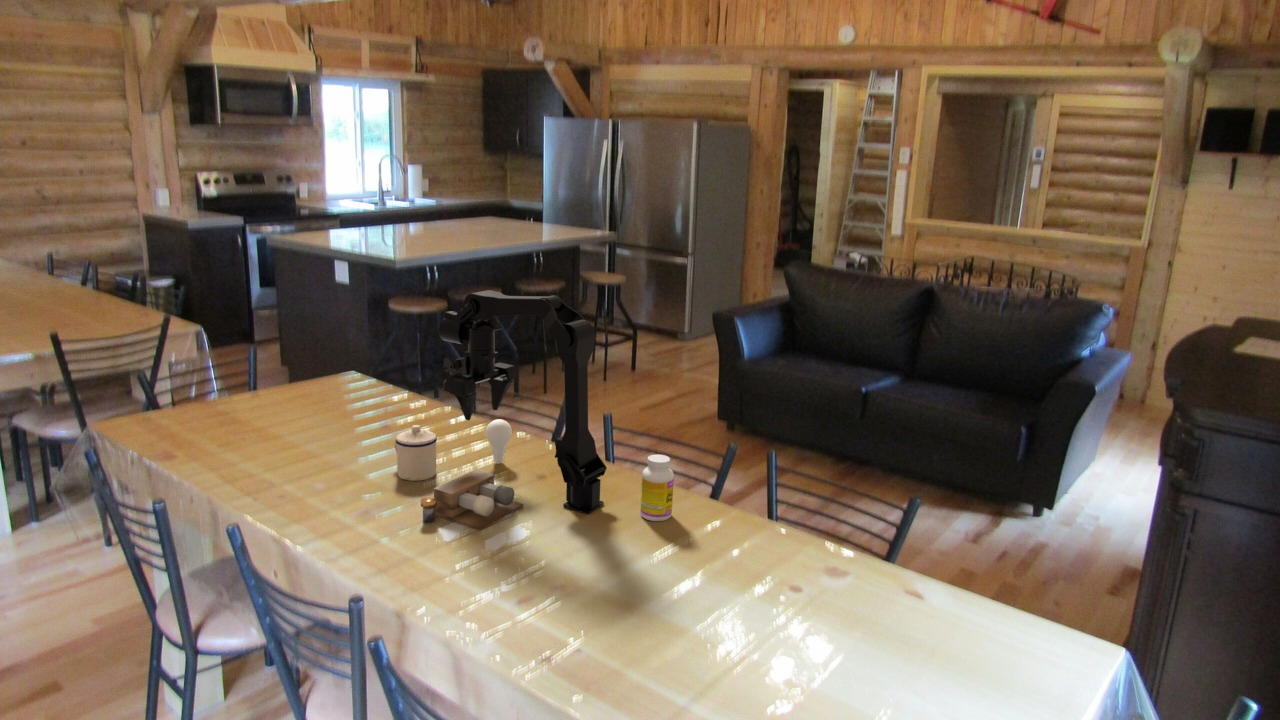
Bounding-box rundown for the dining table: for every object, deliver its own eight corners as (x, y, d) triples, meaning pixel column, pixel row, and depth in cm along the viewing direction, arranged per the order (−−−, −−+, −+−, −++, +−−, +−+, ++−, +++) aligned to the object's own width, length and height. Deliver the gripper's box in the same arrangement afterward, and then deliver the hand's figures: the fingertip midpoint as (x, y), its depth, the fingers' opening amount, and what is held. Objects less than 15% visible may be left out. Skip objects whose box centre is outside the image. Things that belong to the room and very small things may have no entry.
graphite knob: (514, 502, 182) (514, 485, 181) (502, 508, 179) (502, 491, 178) (481, 491, 186) (481, 475, 185) (469, 497, 183) (469, 480, 182)
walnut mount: (523, 506, 183) (523, 482, 182) (479, 530, 172) (478, 504, 170) (476, 492, 190) (476, 468, 188) (430, 513, 178) (430, 488, 177)
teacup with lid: (445, 474, 199) (445, 426, 196) (413, 485, 192) (412, 435, 189) (412, 460, 206) (411, 414, 203) (380, 471, 199) (378, 422, 196)
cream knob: (494, 512, 176) (494, 495, 176) (481, 519, 173) (481, 501, 172) (460, 501, 181) (460, 484, 180) (448, 507, 178) (447, 490, 177)
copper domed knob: (440, 520, 176) (440, 499, 174) (429, 525, 173) (428, 504, 172) (428, 516, 177) (428, 495, 176) (417, 521, 174) (417, 500, 173)
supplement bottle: (668, 524, 178) (672, 465, 175) (637, 520, 180) (639, 462, 176) (674, 511, 185) (677, 454, 181) (643, 507, 186) (646, 451, 183)
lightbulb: (498, 470, 202) (498, 425, 200) (480, 463, 206) (480, 419, 203) (517, 463, 207) (517, 419, 204) (499, 457, 211) (499, 414, 208)
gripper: (481, 335, 203) (481, 398, 207) (424, 349, 188) (425, 418, 192) (519, 342, 198) (518, 407, 202) (463, 358, 182) (463, 428, 186)
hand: (481, 414), depth 195 cm, fingers open, 9 cm apart
